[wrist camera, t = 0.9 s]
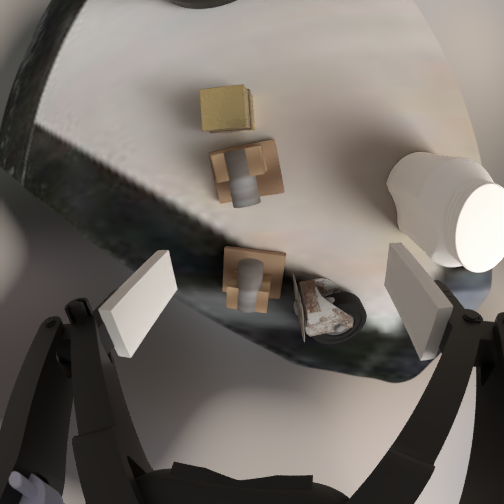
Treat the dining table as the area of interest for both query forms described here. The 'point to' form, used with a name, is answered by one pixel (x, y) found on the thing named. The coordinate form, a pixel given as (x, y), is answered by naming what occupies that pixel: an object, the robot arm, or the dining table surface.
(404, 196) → the jar
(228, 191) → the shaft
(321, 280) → the caster wheel
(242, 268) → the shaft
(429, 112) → the dining table surface
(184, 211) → the dining table surface
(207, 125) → the block
